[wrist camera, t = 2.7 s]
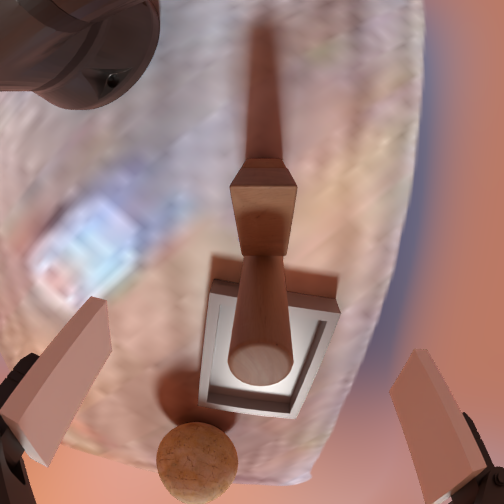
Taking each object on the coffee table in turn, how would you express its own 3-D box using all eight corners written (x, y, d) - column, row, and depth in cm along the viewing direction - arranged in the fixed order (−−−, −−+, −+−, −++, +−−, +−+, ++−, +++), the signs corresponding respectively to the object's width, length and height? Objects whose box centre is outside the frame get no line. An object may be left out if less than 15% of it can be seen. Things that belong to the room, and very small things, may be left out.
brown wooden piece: (283, 158, 29) (307, 201, 12) (281, 260, 33) (293, 390, 16) (244, 158, 29) (215, 201, 12) (246, 260, 33) (228, 389, 16)
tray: (213, 279, 34) (209, 292, 31) (335, 299, 34) (341, 313, 32) (200, 390, 41) (197, 405, 39) (294, 403, 42) (295, 418, 39)
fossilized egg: (240, 449, 48) (234, 519, 34) (172, 441, 48) (155, 507, 34) (241, 410, 43) (234, 495, 29) (161, 401, 43) (136, 479, 29)
